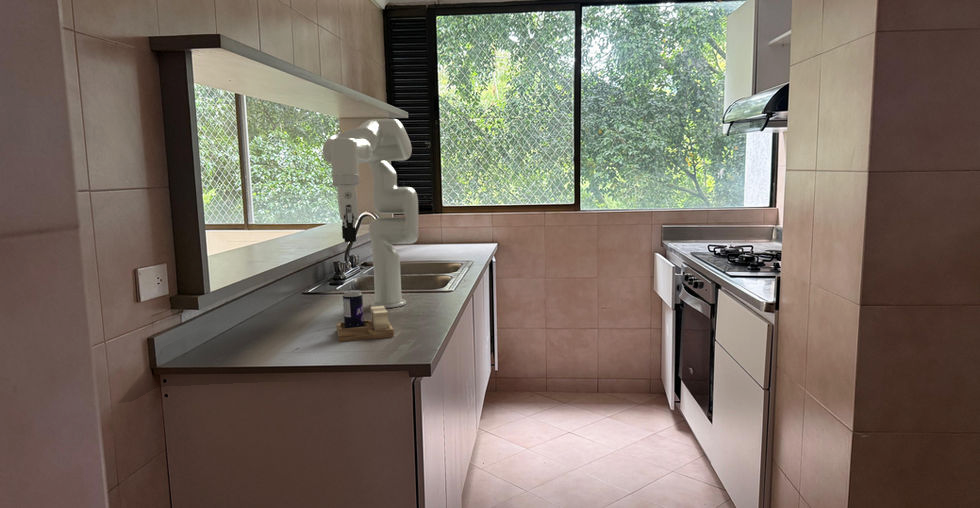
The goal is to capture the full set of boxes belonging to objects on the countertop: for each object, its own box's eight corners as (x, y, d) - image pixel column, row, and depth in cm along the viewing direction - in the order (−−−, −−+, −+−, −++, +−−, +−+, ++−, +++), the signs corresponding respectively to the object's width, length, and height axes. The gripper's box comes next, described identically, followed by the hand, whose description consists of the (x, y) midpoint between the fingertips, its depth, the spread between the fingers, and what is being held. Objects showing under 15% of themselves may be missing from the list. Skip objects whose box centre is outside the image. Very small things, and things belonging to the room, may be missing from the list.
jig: (336, 330, 199) (336, 321, 198) (387, 326, 203) (387, 316, 202) (339, 341, 185) (338, 331, 185) (393, 336, 189) (393, 326, 189)
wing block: (371, 325, 199) (370, 306, 199) (384, 324, 200) (383, 305, 200) (375, 333, 190) (373, 313, 189) (388, 332, 191) (387, 312, 190)
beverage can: (359, 333, 190) (357, 293, 189) (341, 333, 191) (339, 293, 190) (367, 328, 196) (364, 289, 194) (349, 328, 197) (347, 289, 195)
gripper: (361, 181, 180) (365, 242, 182) (356, 180, 197) (359, 236, 199) (334, 182, 178) (337, 243, 180) (331, 181, 195) (334, 238, 197)
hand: (349, 240), depth 190 cm, fingers open, 9 cm apart
